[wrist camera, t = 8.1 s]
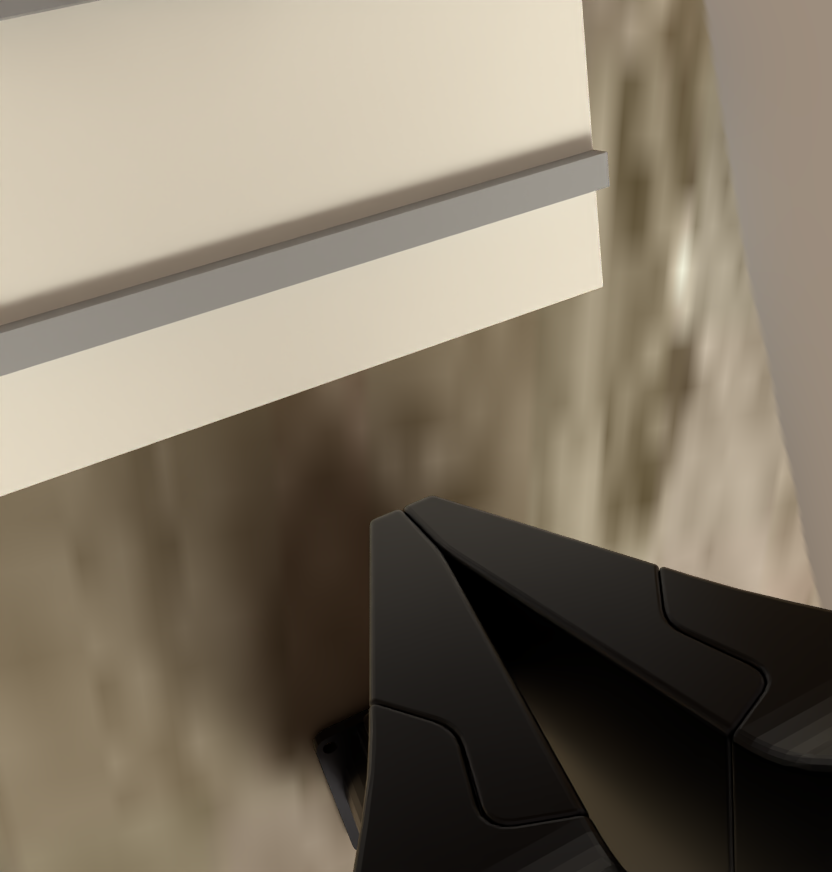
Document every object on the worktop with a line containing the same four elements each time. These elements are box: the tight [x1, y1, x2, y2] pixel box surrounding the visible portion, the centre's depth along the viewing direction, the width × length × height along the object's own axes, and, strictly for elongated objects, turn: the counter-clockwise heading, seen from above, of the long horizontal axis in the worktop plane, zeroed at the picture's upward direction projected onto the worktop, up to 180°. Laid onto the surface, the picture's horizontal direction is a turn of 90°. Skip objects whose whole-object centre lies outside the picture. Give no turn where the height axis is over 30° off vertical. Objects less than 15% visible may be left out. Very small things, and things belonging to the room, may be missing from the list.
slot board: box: [0, 0, 609, 496], centre depth 16 cm, size 12×19×4 cm, turn 102°
